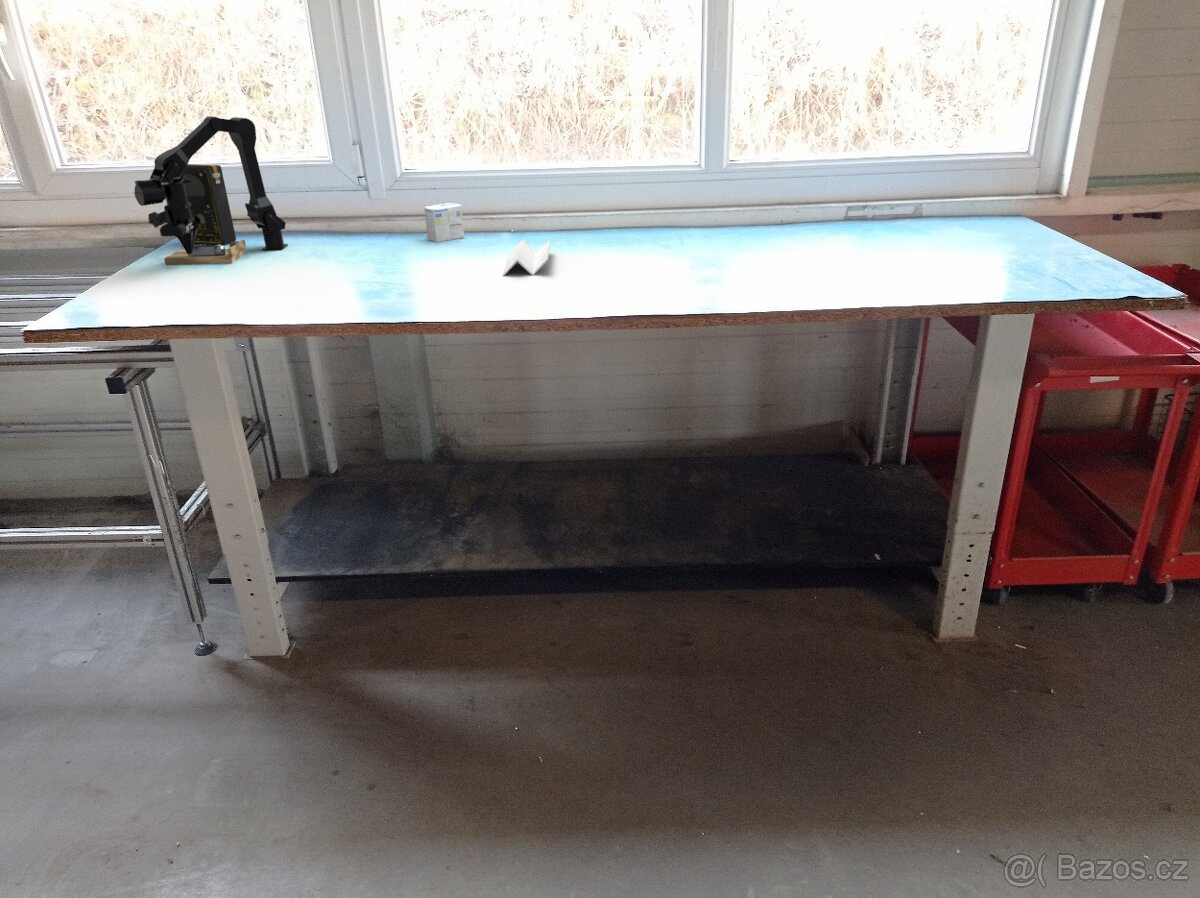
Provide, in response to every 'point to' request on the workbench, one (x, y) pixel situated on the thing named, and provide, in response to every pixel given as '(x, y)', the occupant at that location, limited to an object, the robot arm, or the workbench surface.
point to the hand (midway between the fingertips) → (189, 253)
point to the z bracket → (527, 257)
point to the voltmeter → (209, 204)
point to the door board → (208, 256)
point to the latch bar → (208, 250)
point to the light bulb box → (444, 222)
